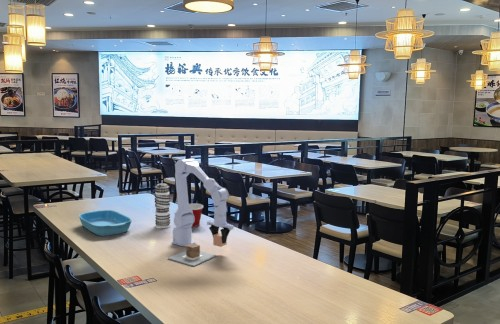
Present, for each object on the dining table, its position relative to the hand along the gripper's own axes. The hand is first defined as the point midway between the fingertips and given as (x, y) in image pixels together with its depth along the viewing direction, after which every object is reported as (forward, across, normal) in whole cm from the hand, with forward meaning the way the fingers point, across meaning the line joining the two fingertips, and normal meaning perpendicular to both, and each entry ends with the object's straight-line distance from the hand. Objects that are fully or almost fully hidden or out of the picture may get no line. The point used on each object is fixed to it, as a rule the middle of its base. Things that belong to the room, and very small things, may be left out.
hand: (219, 241), depth 204 cm
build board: (+6, +7, +12) cm, 15 cm away
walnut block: (+5, +7, +12) cm, 14 cm away
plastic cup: (+6, +42, -29) cm, 51 cm away
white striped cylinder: (+6, +56, -17) cm, 59 cm away
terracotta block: (+2, 0, 0) cm, 2 cm away
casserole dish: (+7, +78, +6) cm, 79 cm away
